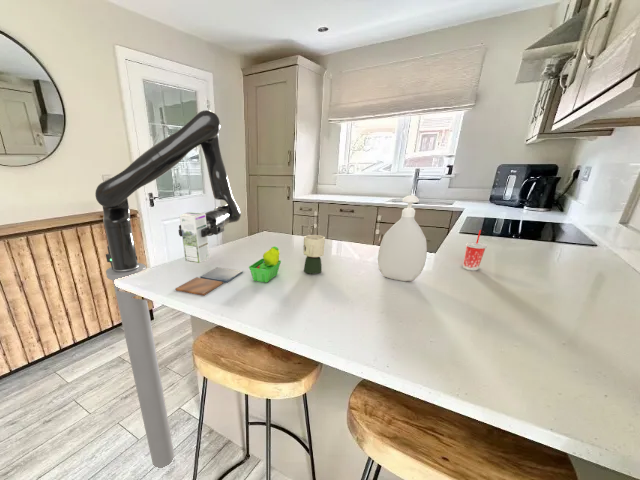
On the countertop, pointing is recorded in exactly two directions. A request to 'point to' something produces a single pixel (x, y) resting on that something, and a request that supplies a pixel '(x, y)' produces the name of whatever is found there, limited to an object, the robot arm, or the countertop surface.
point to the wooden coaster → (199, 286)
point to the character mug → (313, 253)
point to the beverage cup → (474, 254)
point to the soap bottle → (403, 247)
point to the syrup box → (194, 237)
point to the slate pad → (221, 274)
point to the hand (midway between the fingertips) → (191, 233)
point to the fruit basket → (266, 266)
